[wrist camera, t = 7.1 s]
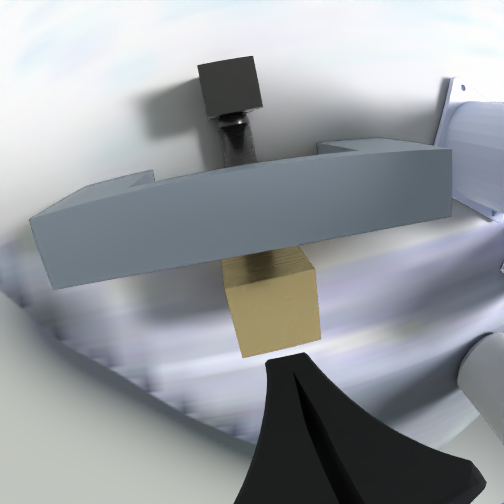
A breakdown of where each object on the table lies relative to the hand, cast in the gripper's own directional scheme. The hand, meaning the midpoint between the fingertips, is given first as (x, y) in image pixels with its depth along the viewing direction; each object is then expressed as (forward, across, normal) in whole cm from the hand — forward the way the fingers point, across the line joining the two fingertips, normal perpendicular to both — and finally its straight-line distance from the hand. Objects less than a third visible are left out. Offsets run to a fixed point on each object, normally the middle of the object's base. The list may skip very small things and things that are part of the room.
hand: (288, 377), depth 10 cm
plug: (+9, 0, -4) cm, 10 cm away
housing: (+9, 0, -5) cm, 11 cm away
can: (+10, -22, +16) cm, 29 cm away
